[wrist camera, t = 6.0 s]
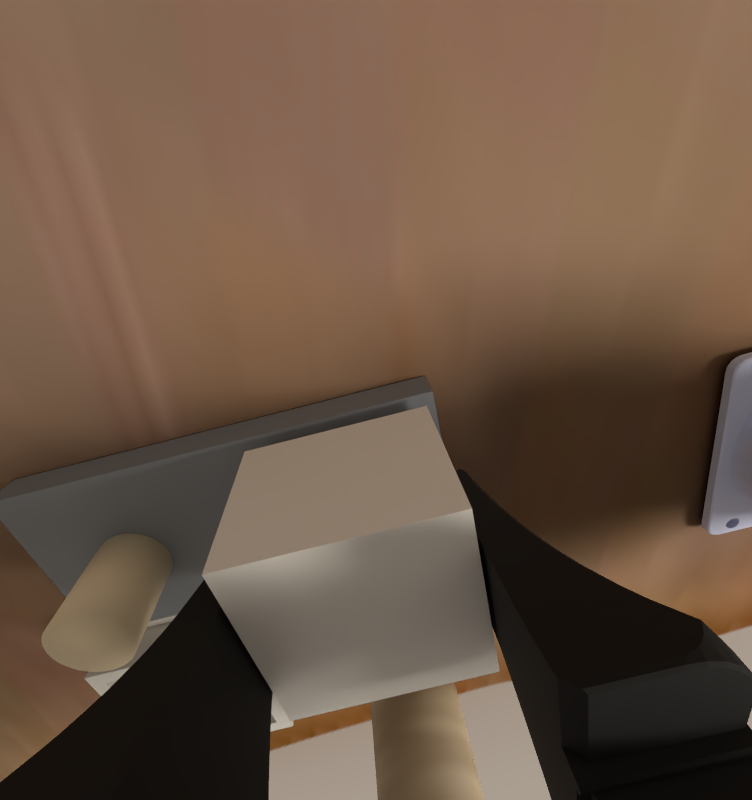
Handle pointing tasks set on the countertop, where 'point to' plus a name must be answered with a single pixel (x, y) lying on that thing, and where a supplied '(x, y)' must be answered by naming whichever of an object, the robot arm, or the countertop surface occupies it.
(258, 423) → the board
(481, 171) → the countertop surface
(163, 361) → the countertop surface
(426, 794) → the loose pin
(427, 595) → the cover
